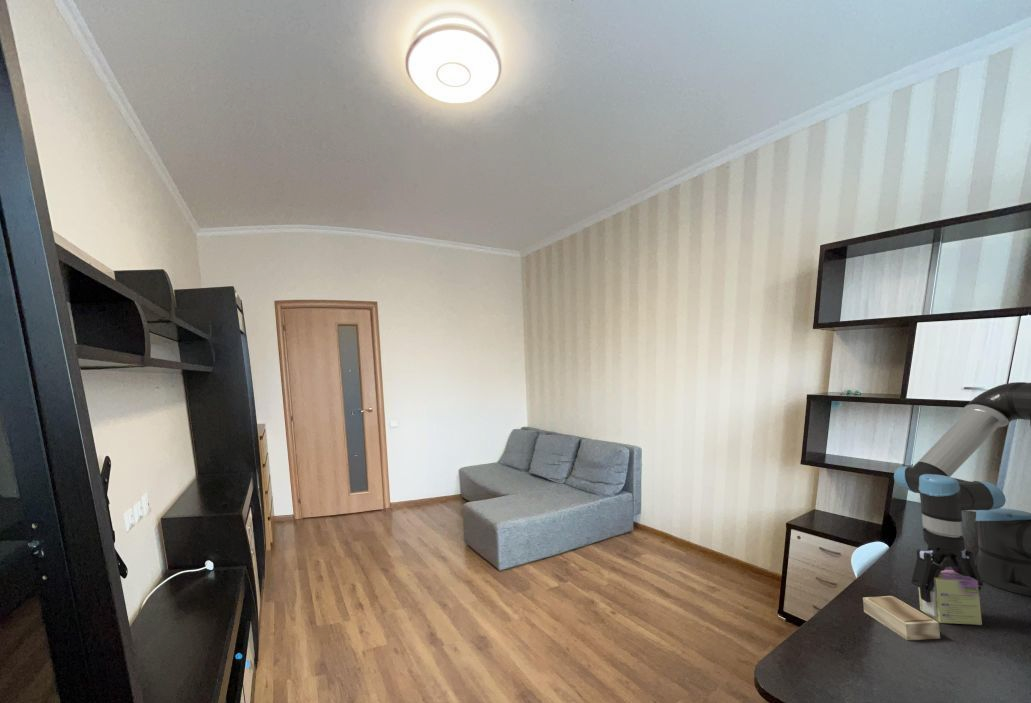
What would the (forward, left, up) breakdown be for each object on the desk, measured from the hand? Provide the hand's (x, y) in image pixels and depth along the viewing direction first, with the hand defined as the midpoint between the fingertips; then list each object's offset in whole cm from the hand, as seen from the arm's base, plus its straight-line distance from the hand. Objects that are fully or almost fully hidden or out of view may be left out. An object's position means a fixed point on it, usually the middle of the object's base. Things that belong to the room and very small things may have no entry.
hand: (949, 611), depth 100 cm
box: (0, 0, -2) cm, 2 cm away
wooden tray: (+16, +2, -1) cm, 17 cm away
